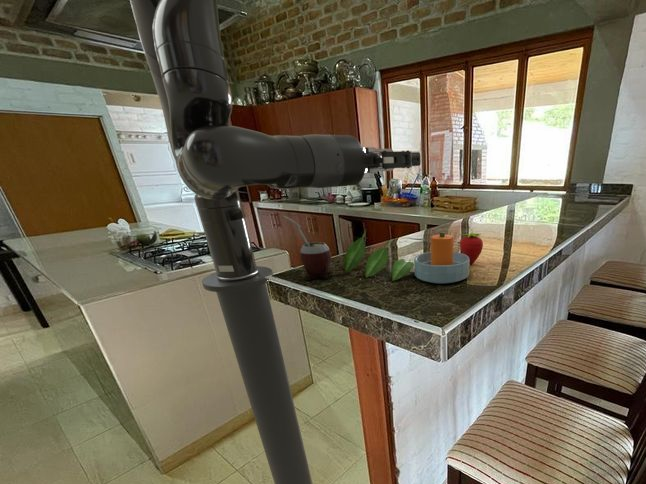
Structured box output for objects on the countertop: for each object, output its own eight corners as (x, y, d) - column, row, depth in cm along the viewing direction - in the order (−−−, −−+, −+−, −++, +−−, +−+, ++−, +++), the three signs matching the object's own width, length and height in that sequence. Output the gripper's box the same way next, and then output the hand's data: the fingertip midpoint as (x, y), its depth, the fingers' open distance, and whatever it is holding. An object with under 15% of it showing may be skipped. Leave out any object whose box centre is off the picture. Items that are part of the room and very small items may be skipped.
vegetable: (426, 274, 80) (426, 232, 76) (439, 269, 84) (439, 229, 80) (444, 278, 77) (445, 235, 73) (456, 273, 81) (457, 231, 77)
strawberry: (461, 269, 86) (462, 230, 81) (457, 261, 92) (458, 224, 88) (484, 268, 86) (486, 229, 81) (478, 260, 92) (481, 223, 88)
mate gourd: (339, 275, 83) (331, 213, 77) (313, 284, 78) (301, 218, 71) (320, 270, 88) (311, 210, 81) (294, 278, 82) (282, 215, 76)
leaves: (400, 300, 83) (422, 262, 89) (400, 286, 77) (423, 246, 83) (337, 272, 86) (362, 237, 91) (333, 257, 80) (359, 221, 85)
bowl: (403, 278, 80) (403, 260, 78) (435, 265, 89) (435, 248, 87) (448, 289, 73) (449, 269, 71) (478, 273, 82) (479, 256, 80)
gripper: (353, 131, 46) (430, 134, 57) (301, 136, 55) (377, 138, 66) (358, 189, 50) (431, 181, 60) (309, 185, 58) (379, 179, 69)
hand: (402, 159), depth 63 cm, fingers open, 8 cm apart
